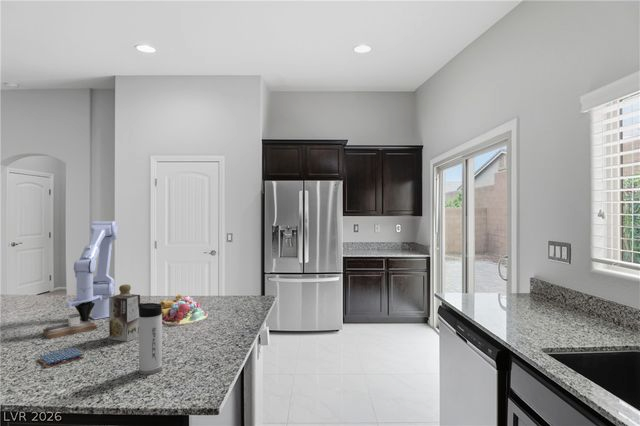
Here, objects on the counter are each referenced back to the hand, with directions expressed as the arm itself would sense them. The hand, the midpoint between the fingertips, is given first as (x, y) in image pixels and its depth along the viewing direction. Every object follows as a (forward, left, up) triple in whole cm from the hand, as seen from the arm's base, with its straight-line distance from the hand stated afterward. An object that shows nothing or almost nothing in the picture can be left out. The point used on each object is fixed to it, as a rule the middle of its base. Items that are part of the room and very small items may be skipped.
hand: (84, 321), depth 146 cm
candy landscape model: (-35, +13, -3) cm, 38 cm away
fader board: (+5, 0, -3) cm, 6 cm away
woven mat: (+14, +31, -4) cm, 34 cm away
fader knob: (+4, 0, -1) cm, 4 cm away
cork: (-24, -26, -3) cm, 36 cm away
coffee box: (-7, +25, -3) cm, 26 cm away
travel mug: (-2, +61, -3) cm, 61 cm away
